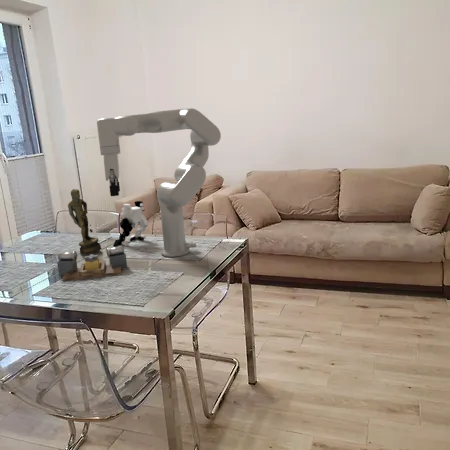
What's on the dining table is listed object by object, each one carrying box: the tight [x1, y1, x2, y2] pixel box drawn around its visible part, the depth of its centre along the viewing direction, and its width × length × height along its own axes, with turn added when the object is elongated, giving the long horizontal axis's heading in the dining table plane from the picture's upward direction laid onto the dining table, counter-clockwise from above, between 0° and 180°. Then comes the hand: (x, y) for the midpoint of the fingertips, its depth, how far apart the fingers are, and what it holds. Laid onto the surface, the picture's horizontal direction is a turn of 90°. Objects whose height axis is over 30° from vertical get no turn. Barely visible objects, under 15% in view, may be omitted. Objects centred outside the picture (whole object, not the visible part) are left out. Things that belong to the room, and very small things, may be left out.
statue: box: [67, 188, 102, 255], centre depth 213 cm, size 11×11×30 cm
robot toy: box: [112, 200, 150, 248], centre depth 227 cm, size 19×14×20 cm
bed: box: [62, 260, 122, 282], centre depth 188 cm, size 22×11×3 cm, turn 100°
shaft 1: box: [56, 250, 79, 277], centre depth 189 cm, size 7×4×9 cm, turn 85°
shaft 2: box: [105, 245, 128, 270], centre depth 191 cm, size 7×4×9 cm, turn 115°
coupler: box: [84, 253, 100, 270], centre depth 188 cm, size 5×5×6 cm
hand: (115, 193), depth 188 cm, fingers open, 9 cm apart
